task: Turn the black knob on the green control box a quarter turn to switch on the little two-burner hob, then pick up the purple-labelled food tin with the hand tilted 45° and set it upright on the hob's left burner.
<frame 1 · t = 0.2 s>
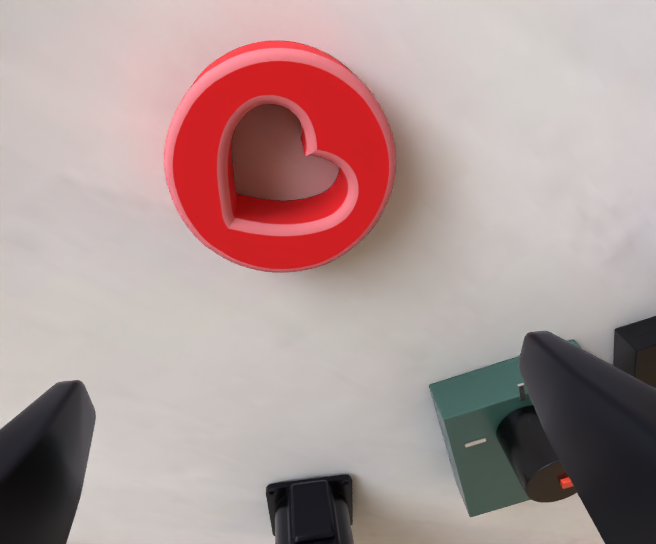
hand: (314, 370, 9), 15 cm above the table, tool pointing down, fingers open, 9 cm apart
control box: (508, 417, 34), on the table
hob knob: (542, 454, 28), point 5 cm above the table, hinge at 0.0°
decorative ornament: (280, 153, 22), on the table
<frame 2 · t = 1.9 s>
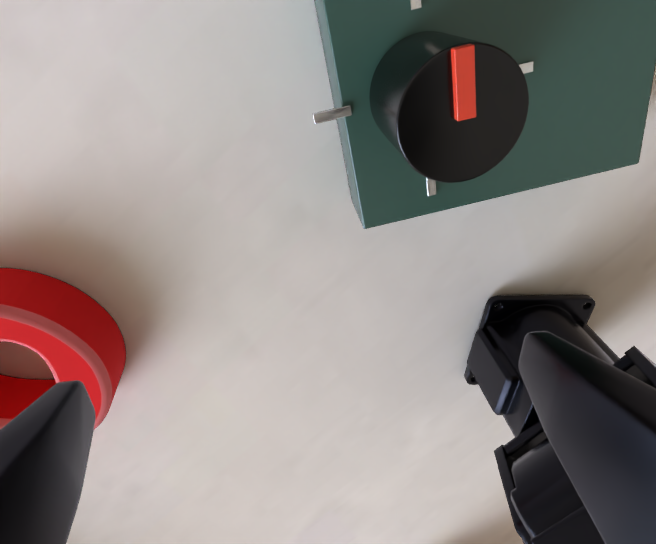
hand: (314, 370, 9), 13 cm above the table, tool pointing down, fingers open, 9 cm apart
control box: (470, 61, 19), on the table
hob knob: (442, 104, 15), point 5 cm above the table, hinge at 0.0°
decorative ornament: (29, 345, 24), on the table
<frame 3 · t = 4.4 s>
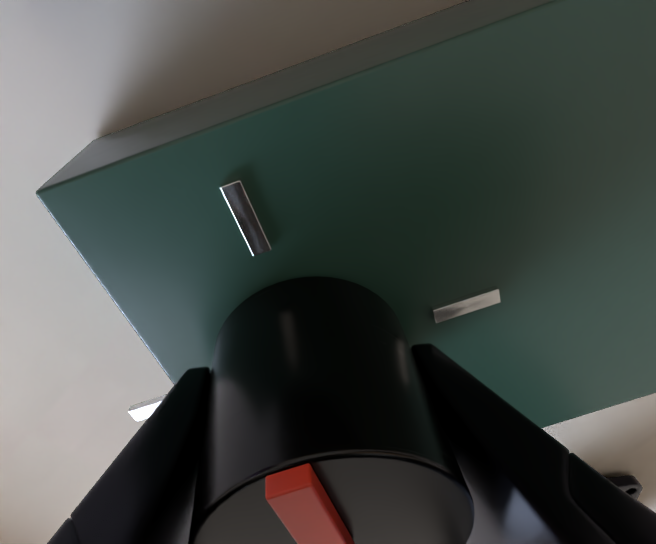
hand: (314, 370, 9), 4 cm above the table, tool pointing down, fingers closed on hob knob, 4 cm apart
control box: (407, 241, 12), on the table
hob knob: (321, 438, 8), point 5 cm above the table, hinge at 0.0°, touching gripper
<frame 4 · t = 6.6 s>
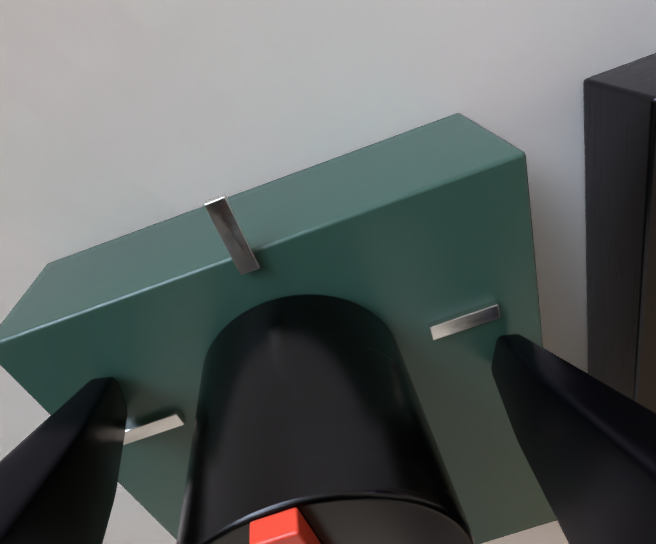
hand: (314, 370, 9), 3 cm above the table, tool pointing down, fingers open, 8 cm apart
control box: (329, 369, 14), on the table
hob knob: (314, 465, 8), point 5 cm above the table, hinge at 90.1°
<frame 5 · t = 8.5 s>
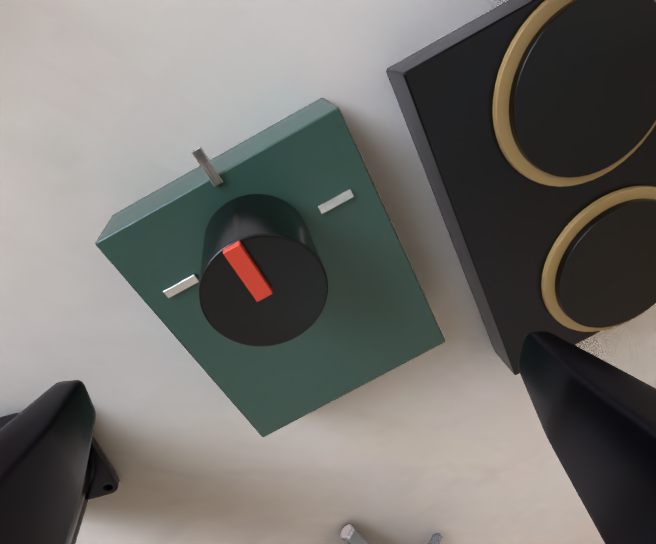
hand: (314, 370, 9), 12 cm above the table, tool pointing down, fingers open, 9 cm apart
control box: (286, 268, 22), on the table
hob knob: (261, 268, 16), point 5 cm above the table, hinge at 90.1°
hob: (568, 172, 22), on the table
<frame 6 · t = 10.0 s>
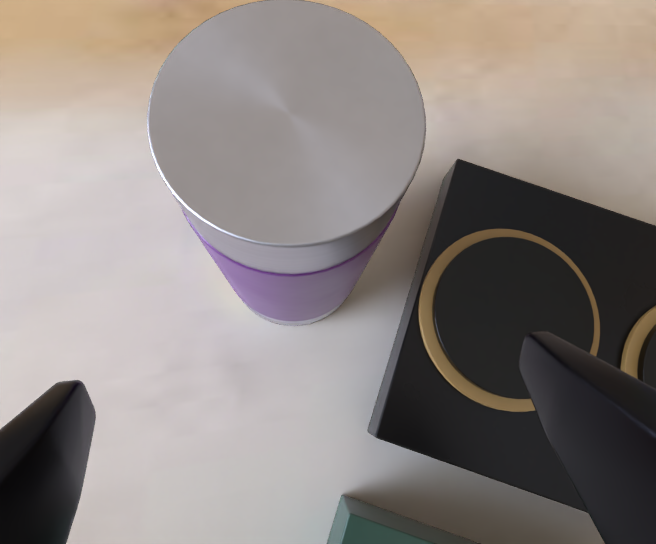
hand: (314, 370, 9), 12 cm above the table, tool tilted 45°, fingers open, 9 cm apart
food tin: (294, 263, 22), on the table
hob: (577, 354, 22), on the table
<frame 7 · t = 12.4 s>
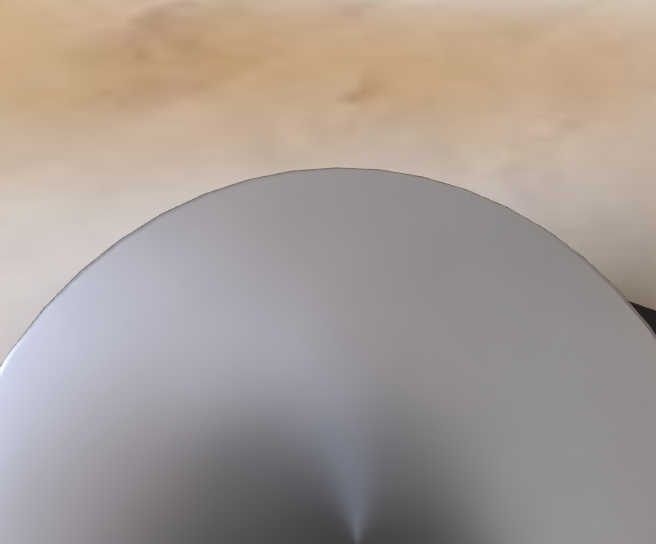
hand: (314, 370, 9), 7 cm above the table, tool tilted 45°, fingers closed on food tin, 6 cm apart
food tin: (310, 417, 15), on the table, touching gripper
when the fingers open (10 cm above the table, at t = 17.6 s): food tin stays where it is, resting on hob.
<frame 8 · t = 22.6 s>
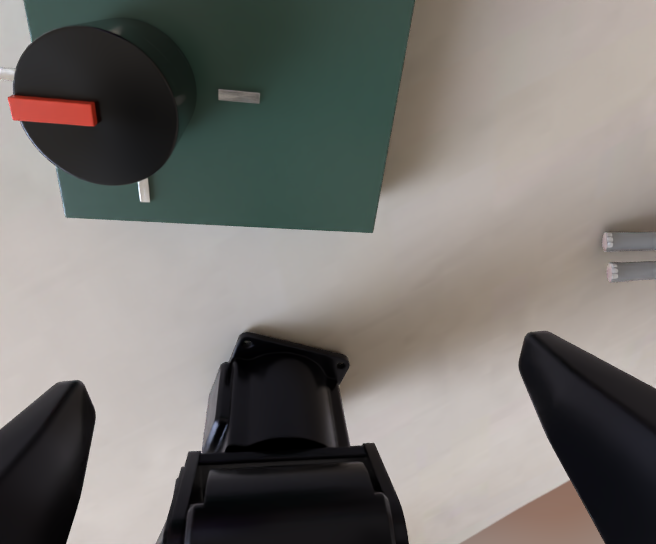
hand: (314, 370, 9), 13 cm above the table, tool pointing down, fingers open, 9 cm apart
control box: (232, 80, 18), on the table
hob knob: (117, 98, 13), point 5 cm above the table, hinge at 90.1°
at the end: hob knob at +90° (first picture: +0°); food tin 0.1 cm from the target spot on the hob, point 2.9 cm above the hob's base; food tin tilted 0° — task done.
